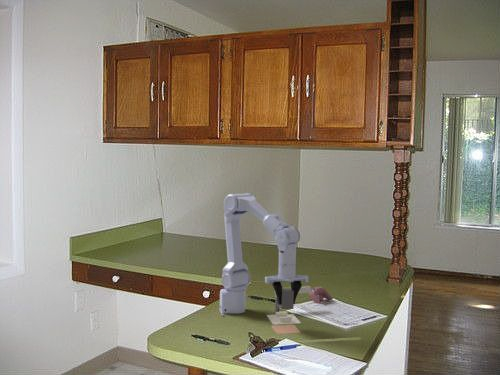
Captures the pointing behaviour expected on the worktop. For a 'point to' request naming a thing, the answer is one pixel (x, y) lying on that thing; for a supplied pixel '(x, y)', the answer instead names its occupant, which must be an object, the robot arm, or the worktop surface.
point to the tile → (285, 329)
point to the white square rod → (302, 289)
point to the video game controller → (319, 294)
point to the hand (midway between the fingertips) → (286, 303)
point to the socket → (282, 316)
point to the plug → (287, 298)
